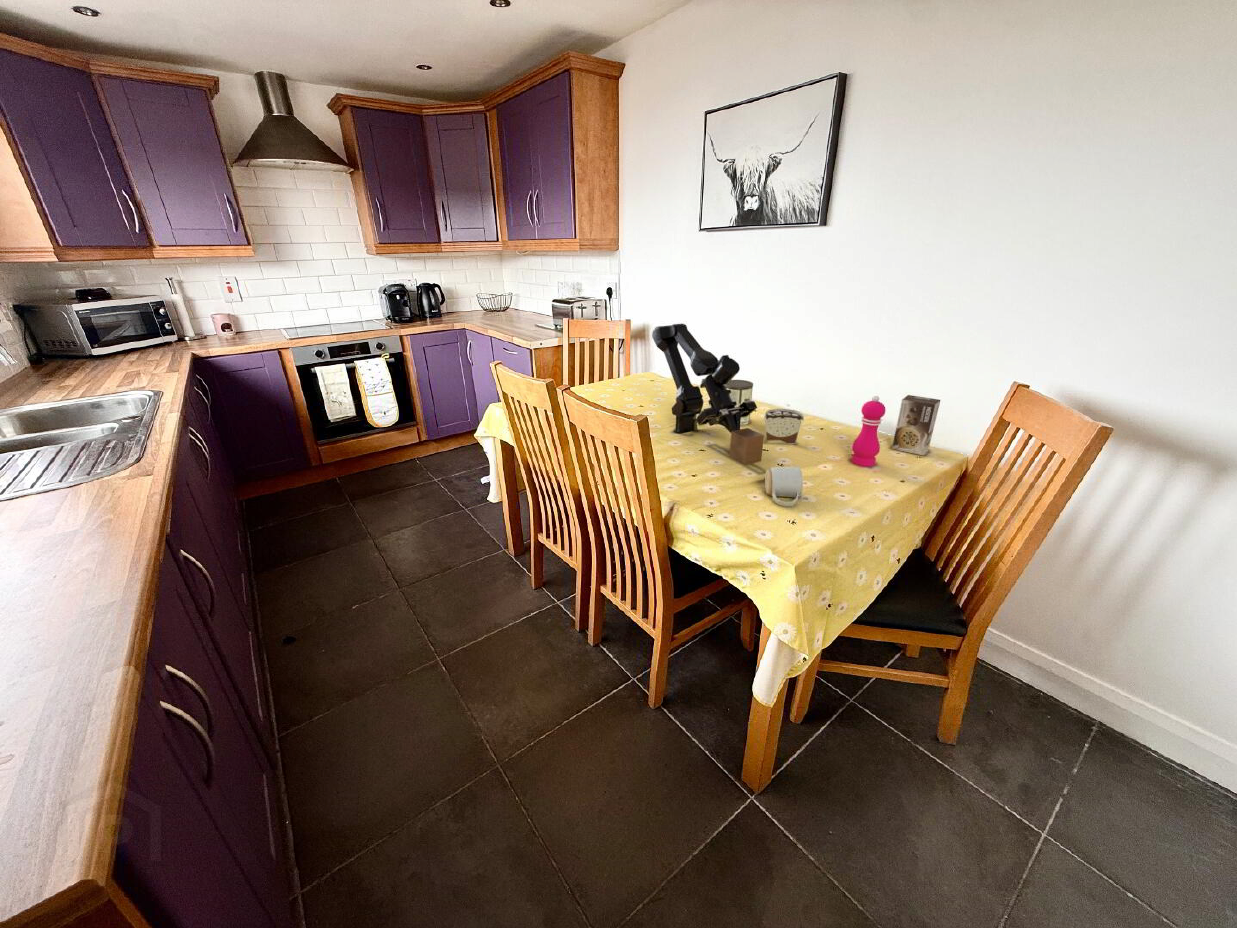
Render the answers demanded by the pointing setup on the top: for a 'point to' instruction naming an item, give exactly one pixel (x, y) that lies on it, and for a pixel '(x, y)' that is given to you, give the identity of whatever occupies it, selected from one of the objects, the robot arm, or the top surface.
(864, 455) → the pepper mill
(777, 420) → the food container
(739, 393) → the coffee can
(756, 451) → the walnut slider
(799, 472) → the ceramic mug
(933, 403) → the coffee box
